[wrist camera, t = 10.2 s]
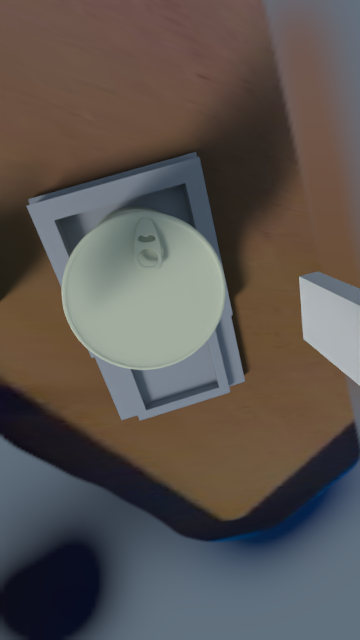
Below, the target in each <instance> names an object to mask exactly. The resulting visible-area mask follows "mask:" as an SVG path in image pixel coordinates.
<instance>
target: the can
mask: <svg viewBox="0 0 360 640" xmlns="http://www.w3.org/2000/svg"><path fill="white" fill-rule="evenodd" d="M225 298H226V283H225V276H224V272H223V268H222V265H221V262H220V260H219V257H218V255H217V253H216V252H215V250H214V248H213V247H212V246H211V244H210V243H209V242H208V240H207V239H206V238H205V237H204V236H203V235H202V234H201V233H200V232H199V231H197V230H196V229H195V228H194V227H192V226H191V225H189V224H188V223H186V222H184V221H182V220H180V219H178V218H176V217H173V216H170V215H167V214H163V213H161V212H159V211H157V210H154V209H151V208H147V207H139V206H135V207H126V208H122V209H119V210H116V211H114V212H112V213H110V214H109V215H107V216H106V217H104V218H103V219H102V220H101V221H100V222H99V223H98V224H97V225H96V227H95V228H93V229H92V230H91V231H90V232H88V233H87V234H86V235H85V236H84V237H83V238H82V239H81V241H80V242H79V243H78V244H77V246H76V247H75V248H74V250H73V252H72V253H71V255H70V257H69V259H68V262H67V264H66V267H65V270H64V274H63V279H62V303H63V308H64V312H65V316H66V318H67V321H68V323H69V325H70V327H71V329H72V331H73V332H74V334H75V335H76V337H77V338H78V339H79V341H80V342H81V343H82V344H83V345H84V346H85V347H86V348H87V349H88V350H89V351H91V352H92V353H93V354H95V355H96V356H98V357H99V358H101V359H103V360H105V361H107V362H109V363H111V364H113V365H116V366H119V367H123V368H128V369H135V370H151V369H159V368H163V367H167V366H170V365H173V364H176V363H178V362H180V361H182V360H184V359H186V358H187V357H189V356H191V355H192V354H193V353H195V352H196V351H197V350H198V349H199V348H201V347H202V346H203V345H204V344H205V342H206V341H207V340H208V339H209V338H210V336H211V335H212V334H213V332H214V331H215V329H216V327H217V325H218V323H219V321H220V318H221V316H222V313H223V309H224V305H225Z"/></svg>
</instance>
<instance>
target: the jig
mask: <svg viewBox="0 0 360 640" xmlns="http://www.w3.org/2000/svg"><path fill="white" fill-rule="evenodd" d="M28 201H29V203H30V205H27V209H28V211H29V213H30V216H31V218H32V220H33V223H34V225H35V227H36V230H37V232H38V234H39V236H40V239H41V241H42V243H43V246H44V248H45V250H46V253H47V255H48V257H49V260H50V262H51V264H52V267H53V269H54V271H55V274H56V276H57V278H58V281H59V283H60V285H61V288H62V279H63V274H64V270H65V267H66V264H67V262H68V259H69V257H70V255H71V253H72V252H73V250H74V248H75V247H76V246H77V244H78V243H79V242H80V241H81V239H82V238H83V237H84V236H85V235H86V234H87V233H88V232H90V231H91V230H92V229H93V228H95V227H96V225H97V224H98V223H99V222H100V221H101V220H102V219H103V218H104V217H106V216H107V215H109V214H110V213H112V212H114V211H116V210H119V209H122V208H126V207H135V206H139V207H147V208H151V209H154V210H157V211H159V212H161V213H163V214H167V215H170V216H173V217H176V218H178V219H180V220H182V221H184V222H186V223H188V224H189V225H191V226H192V227H194V228H195V229H196V230H197V231H199V232H200V233H201V234H202V235H203V236H204V237H205V238H206V239H207V240H208V242H209V243H210V244H211V246H212V247H213V248H214V250H215V252H216V253H217V255H218V257H219V260H220V262H221V265H222V261H221V256H220V252H219V247H218V242H217V238H216V233H215V228H214V223H213V219H212V214H211V209H210V204H209V200H208V195H207V190H206V185H205V181H204V176H203V171H202V166H201V162H200V157H197V154H196V152H194V153H190V154H187V155H183V156H180V157H176V158H172V159H169V160H165V161H162V162H158V163H155V164H151V165H148V166H144V167H141V168H137V169H133V170H130V171H126V172H123V173H119V174H116V175H112V176H109V177H105V178H102V179H98V180H95V181H91V182H87V183H84V184H80V185H77V186H73V187H70V188H66V189H63V190H59V191H56V192H52V193H48V194H45V195H41V196H38V197H34V198H31V199H28ZM222 268H223V266H222ZM223 272H224V271H223ZM224 276H225V275H224ZM225 283H226V280H225ZM232 315H233V313H232V309H231V304H230V299H229V294H228V290H227V285H226V298H225V305H224V309H223V313H222V316H221V318H220V321H219V323H218V325H217V327H216V329H215V331H214V332H213V334H212V335H211V336H210V338H209V339H208V340H207V341H206V342H205V344H204V345H203V346H202V347H201V348H199V349H198V350H197V351H196V352H195V353H193V354H192V355H191V356H189V357H187V358H186V359H184V360H182V361H180V362H178V363H176V364H173V365H170V366H167V367H163V368H159V369H151V370H135V369H128V368H123V367H119V366H116V365H113V364H111V363H109V362H107V361H105V360H103V359H101V358H99V357H98V356H96V355H95V354H93V353H92V352H91V351H89V350H88V351H89V353H90V355H91V358H94V357H95V359H96V361H97V363H98V366H99V368H100V370H101V373H102V375H103V377H104V380H105V382H106V385H107V387H108V389H109V392H110V394H111V396H112V399H113V401H114V403H115V406H116V408H117V410H118V413H119V415H120V418H121V420H124V419H127V418H130V417H133V416H137V415H138V417H139V420H143V419H147V418H150V417H153V416H156V415H159V414H163V413H166V412H169V411H172V410H175V409H178V408H182V407H185V406H188V405H191V404H194V403H198V402H201V401H204V400H207V399H210V398H213V397H217V396H220V395H223V394H226V393H229V392H230V389H229V386H232V385H235V384H239V383H242V382H245V379H244V374H243V370H242V365H241V360H240V356H239V351H238V346H237V342H236V337H235V332H234V327H233V323H232V318H231V316H232Z"/></svg>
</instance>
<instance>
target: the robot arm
mask: <svg viewBox="0 0 360 640" xmlns="http://www.w3.org/2000/svg"><path fill="white" fill-rule="evenodd" d="M299 282H300V296H301V311H302V325H303V339H304V340H305V341H307V342H308V343H309V344H310V345H311V346H313V347H314V348H315V349H316V350H317V351H319V352H320V353H321V354H322V355H323V356H325V357H326V358H327V359H328V360H330V361H331V362H332V363H333V364H334V365H336V366H337V367H338V368H339V369H340V370H342V371H343V372H344V373H345V374H346V375H348V376H349V377H350V378H351V379H353V380H354V381H355V382H356V383H357V384H358V385H360V289H359V288H356V287H354V286H352V285H349V284H347V283H344V282H342V281H339V280H337V279H335V278H332V277H330V276H327V275H325V274H322V273H320V272H314V273H310V274H307V275H303V276H299Z"/></svg>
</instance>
